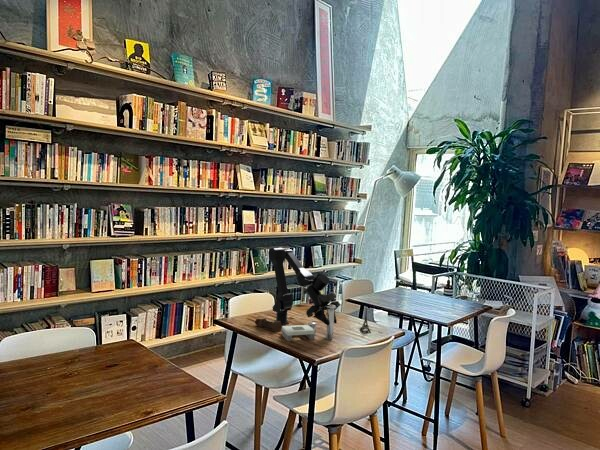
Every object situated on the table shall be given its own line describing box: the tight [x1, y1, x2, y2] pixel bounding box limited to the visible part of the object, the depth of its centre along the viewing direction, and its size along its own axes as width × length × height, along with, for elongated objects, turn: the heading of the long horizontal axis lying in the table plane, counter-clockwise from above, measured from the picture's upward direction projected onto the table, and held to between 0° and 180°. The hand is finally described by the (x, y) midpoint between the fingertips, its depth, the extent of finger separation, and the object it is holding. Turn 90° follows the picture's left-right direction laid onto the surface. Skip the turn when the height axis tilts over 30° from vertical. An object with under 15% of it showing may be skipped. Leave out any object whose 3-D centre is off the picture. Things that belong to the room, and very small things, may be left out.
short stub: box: [307, 321, 318, 334], centre depth 213 cm, size 4×4×5 cm
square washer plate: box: [281, 324, 316, 342], centre depth 205 cm, size 10×13×4 cm
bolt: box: [254, 317, 283, 333], centre depth 217 cm, size 6×5×15 cm
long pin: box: [325, 304, 336, 340], centre depth 204 cm, size 4×4×16 cm
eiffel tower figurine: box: [348, 307, 384, 335], centre depth 218 cm, size 15×10×13 cm
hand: (332, 324), depth 204 cm, fingers open, 5 cm apart
